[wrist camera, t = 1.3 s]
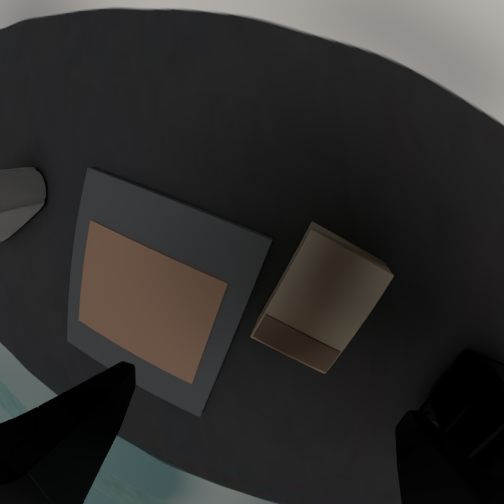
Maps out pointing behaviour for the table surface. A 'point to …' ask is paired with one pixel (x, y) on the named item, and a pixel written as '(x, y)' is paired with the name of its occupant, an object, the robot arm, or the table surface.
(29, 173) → the grey rounded block
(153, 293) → the rubber mat
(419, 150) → the table surface
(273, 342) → the tan beveled box
